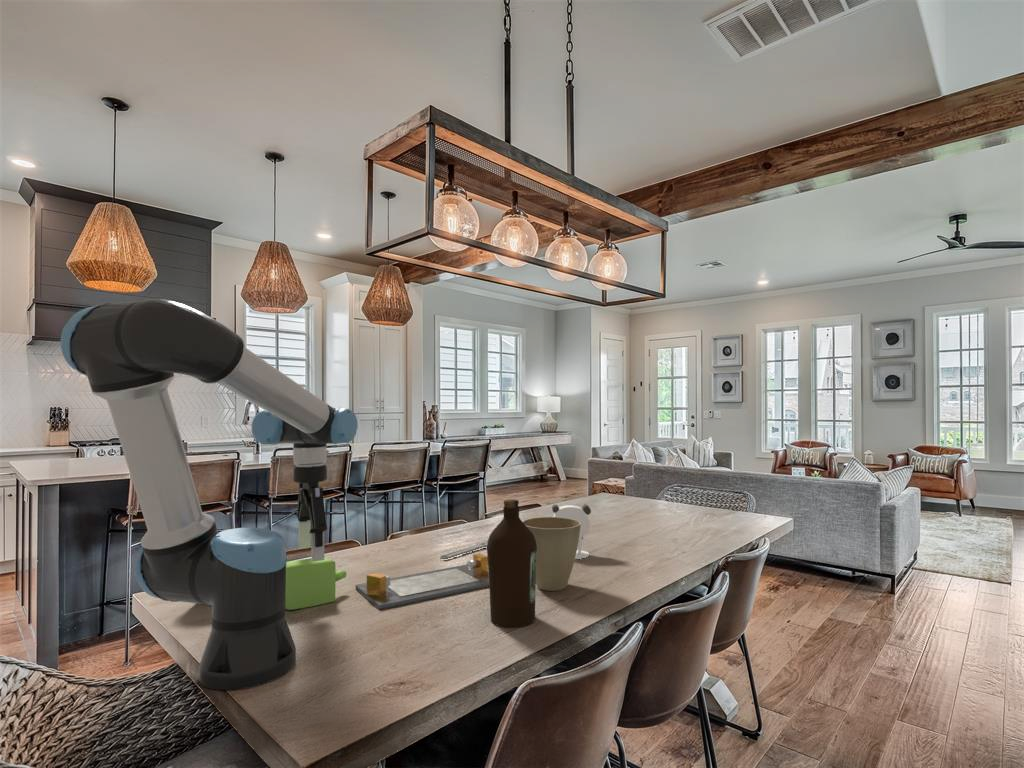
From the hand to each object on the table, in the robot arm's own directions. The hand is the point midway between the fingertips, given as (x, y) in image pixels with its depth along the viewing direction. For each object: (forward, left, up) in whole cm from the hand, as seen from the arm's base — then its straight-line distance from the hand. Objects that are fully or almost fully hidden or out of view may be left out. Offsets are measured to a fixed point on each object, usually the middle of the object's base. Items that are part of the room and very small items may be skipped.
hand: (311, 554), depth 132 cm
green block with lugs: (0, 0, -11) cm, 11 cm away
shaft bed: (-7, -28, -11) cm, 31 cm away
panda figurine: (-4, -76, -11) cm, 77 cm away
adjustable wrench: (+18, -52, -11) cm, 57 cm away
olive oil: (-38, -33, -11) cm, 51 cm away
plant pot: (-25, -53, -11) cm, 59 cm away
